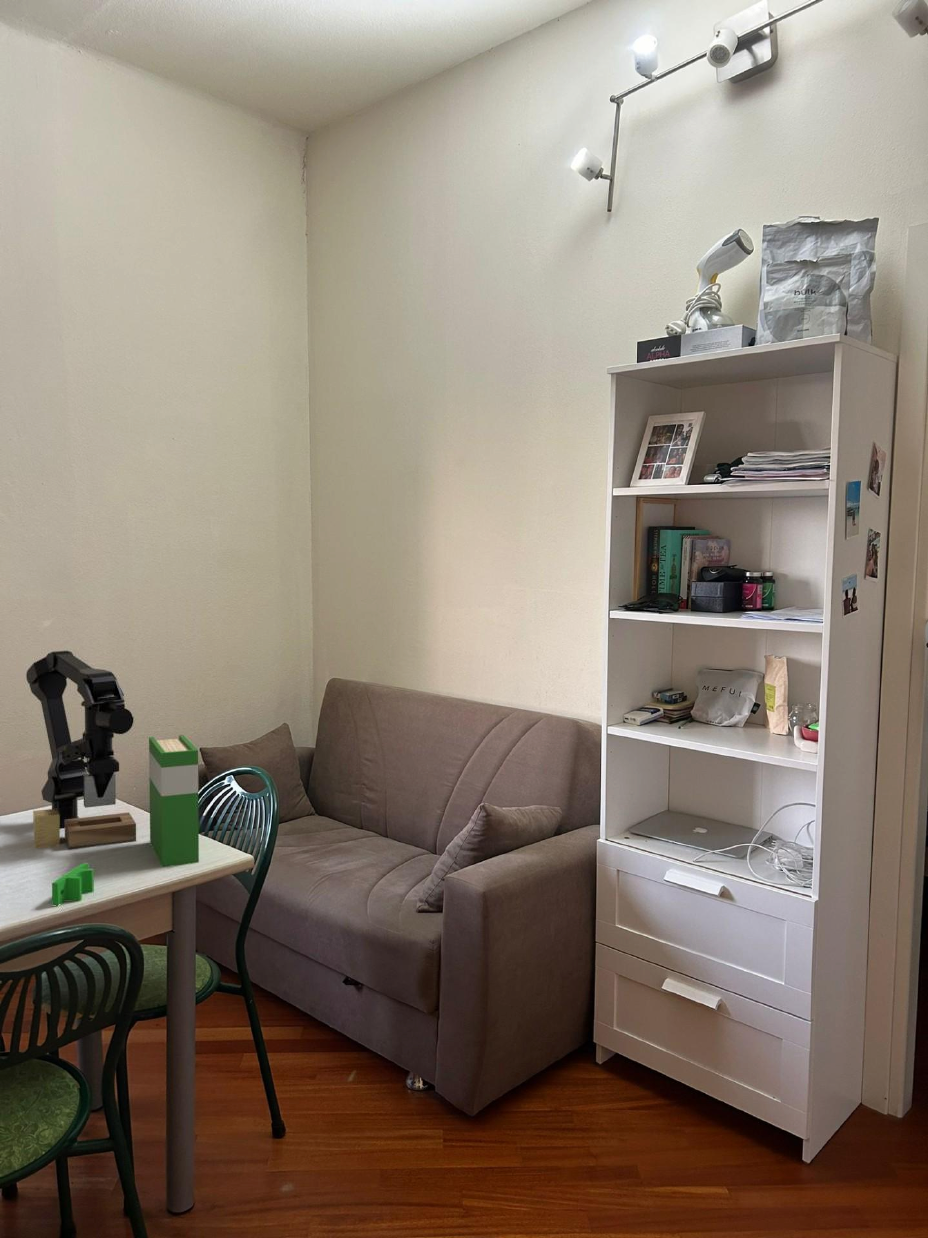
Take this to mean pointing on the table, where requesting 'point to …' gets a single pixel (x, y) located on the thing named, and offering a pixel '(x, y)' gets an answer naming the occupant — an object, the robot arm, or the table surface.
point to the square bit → (46, 828)
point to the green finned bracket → (73, 885)
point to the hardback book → (174, 801)
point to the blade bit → (91, 794)
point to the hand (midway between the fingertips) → (99, 796)
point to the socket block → (100, 830)
